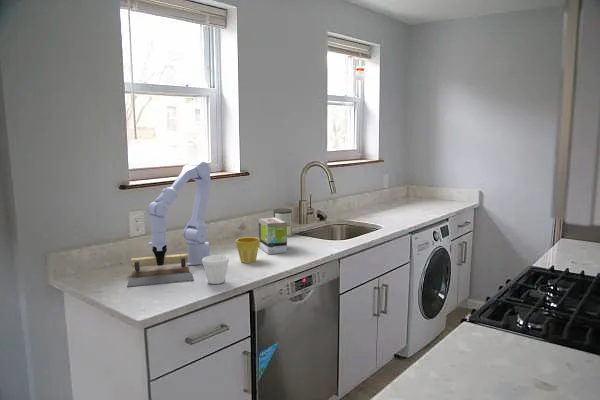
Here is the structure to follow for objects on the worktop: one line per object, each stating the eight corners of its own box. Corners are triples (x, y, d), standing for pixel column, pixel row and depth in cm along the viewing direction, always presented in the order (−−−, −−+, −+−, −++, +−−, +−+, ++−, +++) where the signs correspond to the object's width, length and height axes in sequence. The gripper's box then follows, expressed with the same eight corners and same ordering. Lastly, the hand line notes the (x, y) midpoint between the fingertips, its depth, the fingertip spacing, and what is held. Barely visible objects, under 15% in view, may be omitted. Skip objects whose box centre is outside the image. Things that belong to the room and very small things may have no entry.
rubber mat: (192, 274, 186) (192, 273, 186) (193, 280, 177) (193, 279, 177) (128, 279, 179) (128, 278, 179) (127, 287, 170) (127, 286, 170)
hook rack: (187, 267, 195) (187, 253, 195) (189, 272, 188) (188, 258, 187) (132, 272, 189) (131, 257, 188) (131, 277, 181) (130, 263, 181)
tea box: (287, 252, 218) (287, 221, 216) (267, 254, 215) (267, 223, 212) (277, 245, 232) (277, 216, 230) (258, 247, 228) (257, 218, 226)
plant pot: (246, 256, 211) (245, 236, 209) (264, 259, 206) (264, 238, 204) (231, 262, 202) (230, 240, 201) (250, 265, 197) (250, 243, 195)
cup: (197, 282, 175) (196, 258, 174) (219, 276, 182) (218, 253, 181) (212, 288, 168) (211, 263, 167) (234, 282, 175) (234, 258, 174)
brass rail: (187, 260, 193) (187, 253, 192) (188, 262, 190) (188, 255, 190) (132, 265, 186) (131, 258, 186) (131, 267, 184) (131, 260, 183)
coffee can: (269, 235, 256) (269, 209, 254) (284, 232, 263) (284, 207, 261) (281, 238, 248) (280, 212, 246) (296, 235, 255) (295, 210, 253)
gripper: (148, 228, 192) (150, 260, 194) (147, 235, 178) (149, 270, 180) (166, 227, 194) (167, 259, 196) (166, 234, 180) (168, 268, 182)
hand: (160, 264), depth 188 cm, fingers closed on brass rail, 3 cm apart
